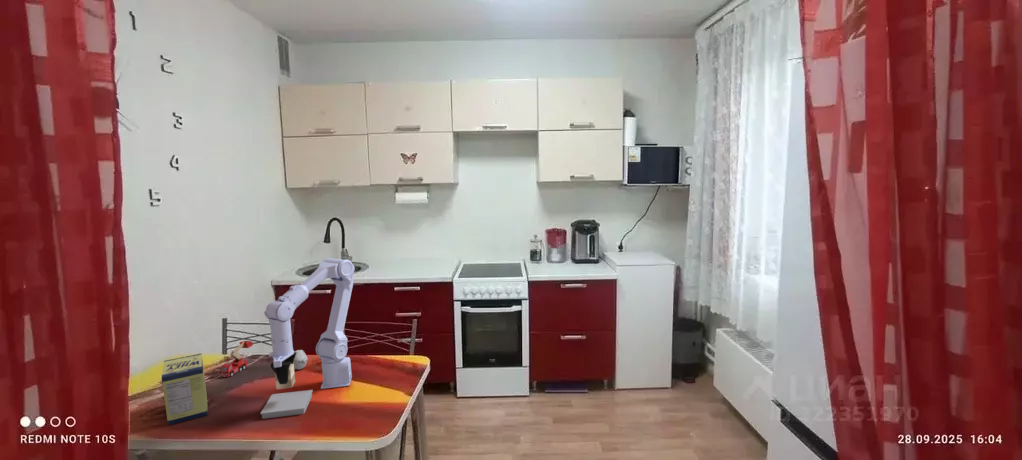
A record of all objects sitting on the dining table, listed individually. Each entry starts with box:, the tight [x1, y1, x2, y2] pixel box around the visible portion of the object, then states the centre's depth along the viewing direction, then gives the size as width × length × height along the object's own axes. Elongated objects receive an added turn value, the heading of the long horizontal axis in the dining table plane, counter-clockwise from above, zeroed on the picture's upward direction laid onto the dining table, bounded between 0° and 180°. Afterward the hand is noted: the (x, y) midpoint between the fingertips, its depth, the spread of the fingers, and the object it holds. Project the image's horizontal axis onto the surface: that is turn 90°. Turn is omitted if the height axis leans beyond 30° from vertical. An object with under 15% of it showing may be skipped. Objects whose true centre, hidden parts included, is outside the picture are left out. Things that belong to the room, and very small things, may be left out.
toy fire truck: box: [221, 340, 254, 378], centre depth 181 cm, size 3×14×10 cm, turn 168°
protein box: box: [161, 353, 209, 426], centre depth 151 cm, size 10×16×16 cm
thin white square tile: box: [260, 389, 313, 420], centre depth 152 cm, size 13×13×2 cm
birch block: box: [274, 364, 296, 390], centre depth 151 cm, size 4×4×6 cm
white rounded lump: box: [293, 349, 308, 370], centre depth 181 cm, size 6×7×7 cm
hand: (285, 380), depth 151 cm, fingers closed on birch block, 4 cm apart
